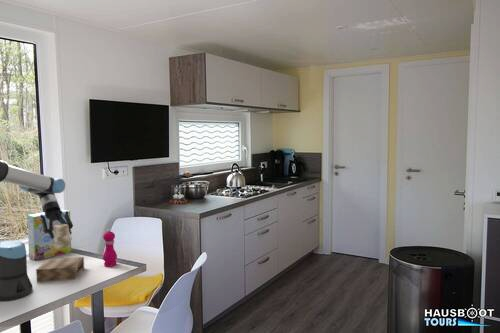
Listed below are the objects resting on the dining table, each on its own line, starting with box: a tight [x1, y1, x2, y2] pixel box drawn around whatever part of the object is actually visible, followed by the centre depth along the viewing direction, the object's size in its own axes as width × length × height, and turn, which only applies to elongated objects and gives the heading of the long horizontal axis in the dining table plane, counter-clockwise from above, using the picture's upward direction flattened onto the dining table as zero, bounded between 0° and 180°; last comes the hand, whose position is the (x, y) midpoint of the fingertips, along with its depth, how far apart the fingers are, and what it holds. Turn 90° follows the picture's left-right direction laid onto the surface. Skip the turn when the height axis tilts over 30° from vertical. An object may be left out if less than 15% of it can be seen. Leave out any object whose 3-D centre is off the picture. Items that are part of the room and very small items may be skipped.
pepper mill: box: [102, 228, 118, 268], centre depth 212 cm, size 7×7×20 cm
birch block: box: [52, 224, 70, 249], centre depth 198 cm, size 6×6×11 cm
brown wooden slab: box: [35, 256, 85, 283], centre depth 199 cm, size 18×16×6 cm
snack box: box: [27, 209, 72, 261], centre depth 230 cm, size 22×9×26 cm, turn 143°
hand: (63, 241), depth 196 cm, fingers closed on birch block, 6 cm apart
